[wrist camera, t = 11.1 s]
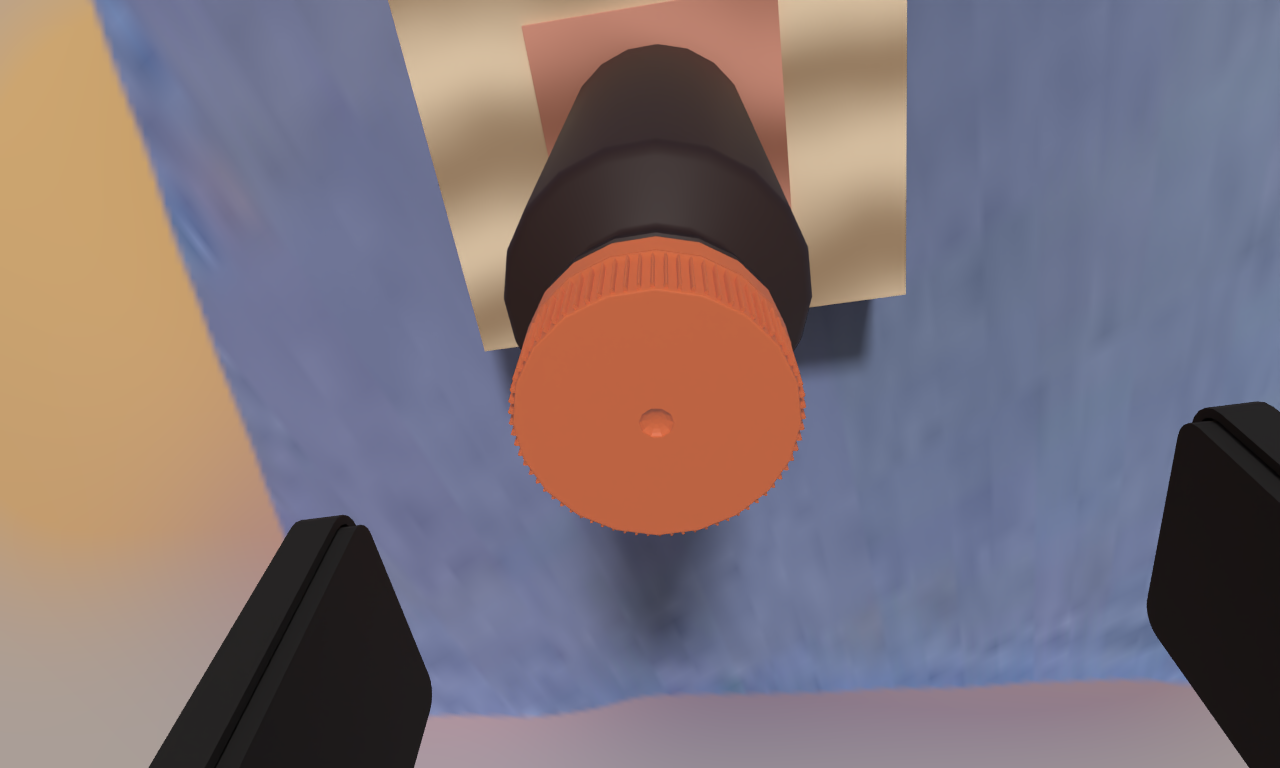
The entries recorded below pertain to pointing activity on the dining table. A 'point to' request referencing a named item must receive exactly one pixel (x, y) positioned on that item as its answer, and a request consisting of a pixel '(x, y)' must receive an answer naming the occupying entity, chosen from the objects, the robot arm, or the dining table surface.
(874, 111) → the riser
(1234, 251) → the dining table surface
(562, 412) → the vinegar
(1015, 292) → the dining table surface
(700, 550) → the dining table surface
